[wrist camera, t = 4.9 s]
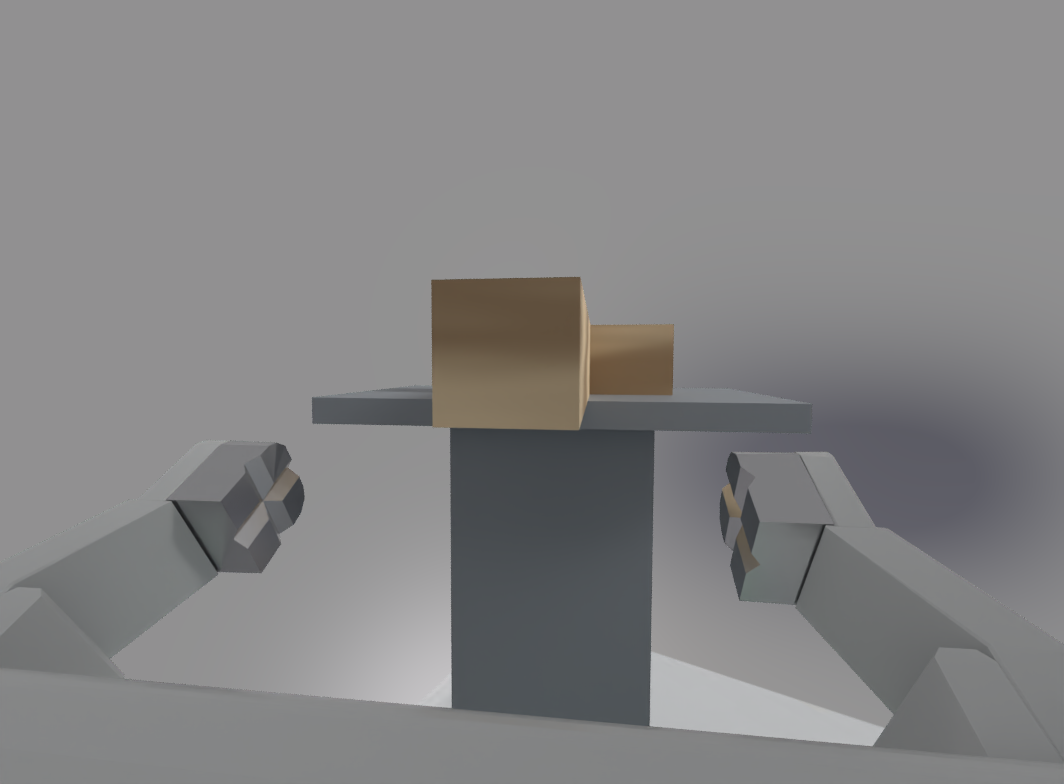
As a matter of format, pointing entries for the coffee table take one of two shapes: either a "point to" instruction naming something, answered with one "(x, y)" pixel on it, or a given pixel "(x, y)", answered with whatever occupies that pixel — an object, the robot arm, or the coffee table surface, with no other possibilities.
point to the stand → (559, 543)
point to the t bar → (534, 354)
